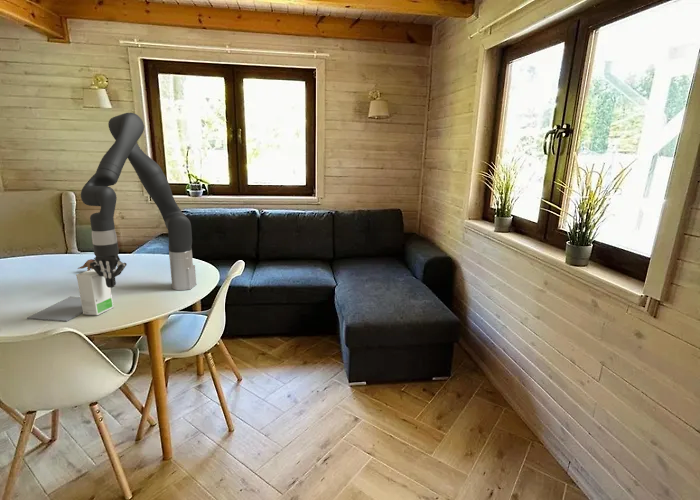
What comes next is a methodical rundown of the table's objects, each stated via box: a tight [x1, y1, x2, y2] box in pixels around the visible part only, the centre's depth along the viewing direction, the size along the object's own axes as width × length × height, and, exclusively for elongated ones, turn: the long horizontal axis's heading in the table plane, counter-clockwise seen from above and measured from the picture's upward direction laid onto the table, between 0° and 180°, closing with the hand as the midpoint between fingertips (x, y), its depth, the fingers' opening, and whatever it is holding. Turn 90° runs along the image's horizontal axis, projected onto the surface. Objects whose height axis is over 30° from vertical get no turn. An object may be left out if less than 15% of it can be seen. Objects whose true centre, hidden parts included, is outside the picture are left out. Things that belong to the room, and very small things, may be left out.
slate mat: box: [26, 296, 83, 323], centre depth 146 cm, size 15×20×1 cm
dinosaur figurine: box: [77, 257, 95, 271], centre depth 185 cm, size 14×6×9 cm, turn 89°
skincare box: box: [75, 269, 114, 316], centre depth 143 cm, size 8×7×16 cm
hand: (111, 286), depth 142 cm, fingers closed
